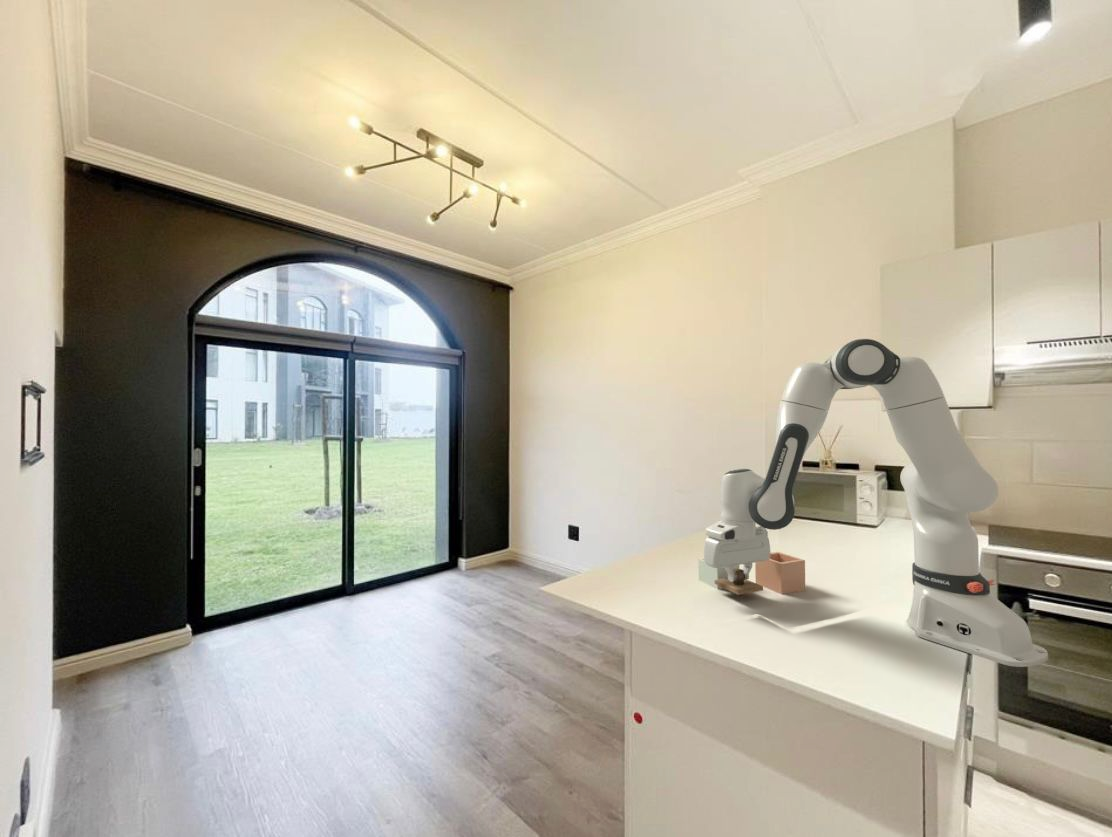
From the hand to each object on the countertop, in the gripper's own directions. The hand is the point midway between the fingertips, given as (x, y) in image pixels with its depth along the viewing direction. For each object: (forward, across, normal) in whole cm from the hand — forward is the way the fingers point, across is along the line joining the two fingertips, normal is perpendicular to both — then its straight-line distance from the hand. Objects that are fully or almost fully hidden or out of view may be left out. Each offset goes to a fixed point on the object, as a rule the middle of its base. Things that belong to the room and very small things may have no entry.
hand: (738, 579), depth 119 cm
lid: (+2, 0, 0) cm, 2 cm away
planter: (+5, -16, -1) cm, 17 cm away
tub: (+5, -2, -10) cm, 11 cm away
